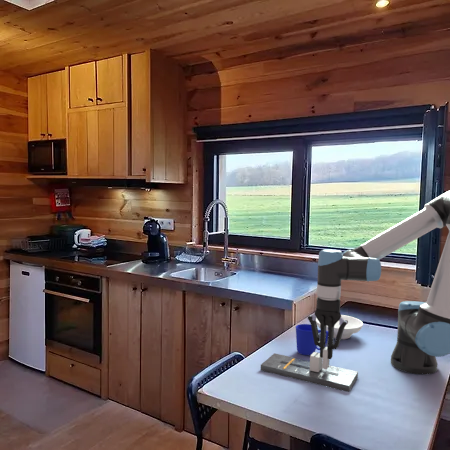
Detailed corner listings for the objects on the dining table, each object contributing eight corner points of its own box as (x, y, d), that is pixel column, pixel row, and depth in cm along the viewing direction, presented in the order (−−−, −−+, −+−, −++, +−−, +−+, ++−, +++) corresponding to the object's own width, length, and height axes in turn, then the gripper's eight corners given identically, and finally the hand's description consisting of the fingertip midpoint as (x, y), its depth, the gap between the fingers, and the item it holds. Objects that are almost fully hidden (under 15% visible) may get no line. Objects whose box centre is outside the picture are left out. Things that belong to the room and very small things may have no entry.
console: (357, 377, 142) (358, 371, 142) (349, 392, 131) (349, 385, 131) (274, 358, 157) (274, 352, 156) (260, 370, 146) (260, 364, 146)
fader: (322, 368, 144) (322, 353, 143) (318, 372, 140) (319, 357, 140) (313, 366, 145) (313, 351, 145) (309, 370, 142) (310, 355, 141)
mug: (327, 359, 157) (328, 332, 156) (294, 356, 159) (295, 329, 158) (327, 350, 165) (327, 325, 164) (295, 348, 167) (296, 323, 166)
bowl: (355, 348, 167) (356, 331, 167) (308, 339, 178) (308, 323, 177) (367, 334, 184) (368, 319, 183) (323, 326, 194) (324, 311, 194)
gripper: (351, 297, 139) (348, 367, 141) (312, 292, 145) (310, 359, 147) (345, 302, 132) (342, 376, 134) (305, 297, 139) (302, 367, 141)
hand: (325, 367), depth 141 cm, fingers closed
